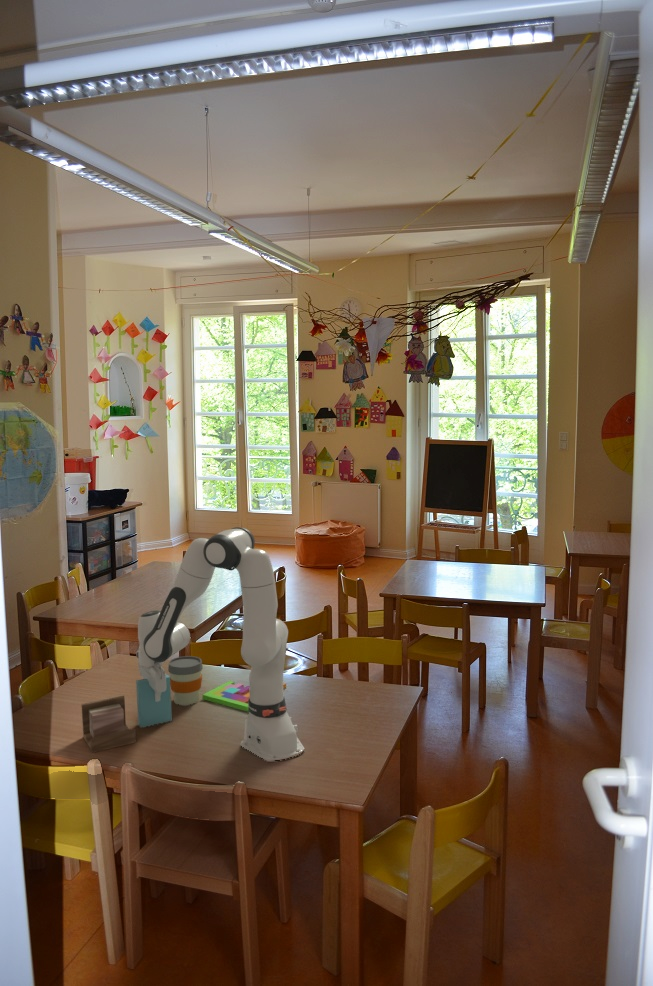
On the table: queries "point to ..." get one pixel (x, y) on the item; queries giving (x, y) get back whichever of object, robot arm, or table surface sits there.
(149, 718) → the teal book
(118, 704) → the stand
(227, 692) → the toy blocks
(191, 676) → the reusable coffee cup
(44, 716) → the table surface
